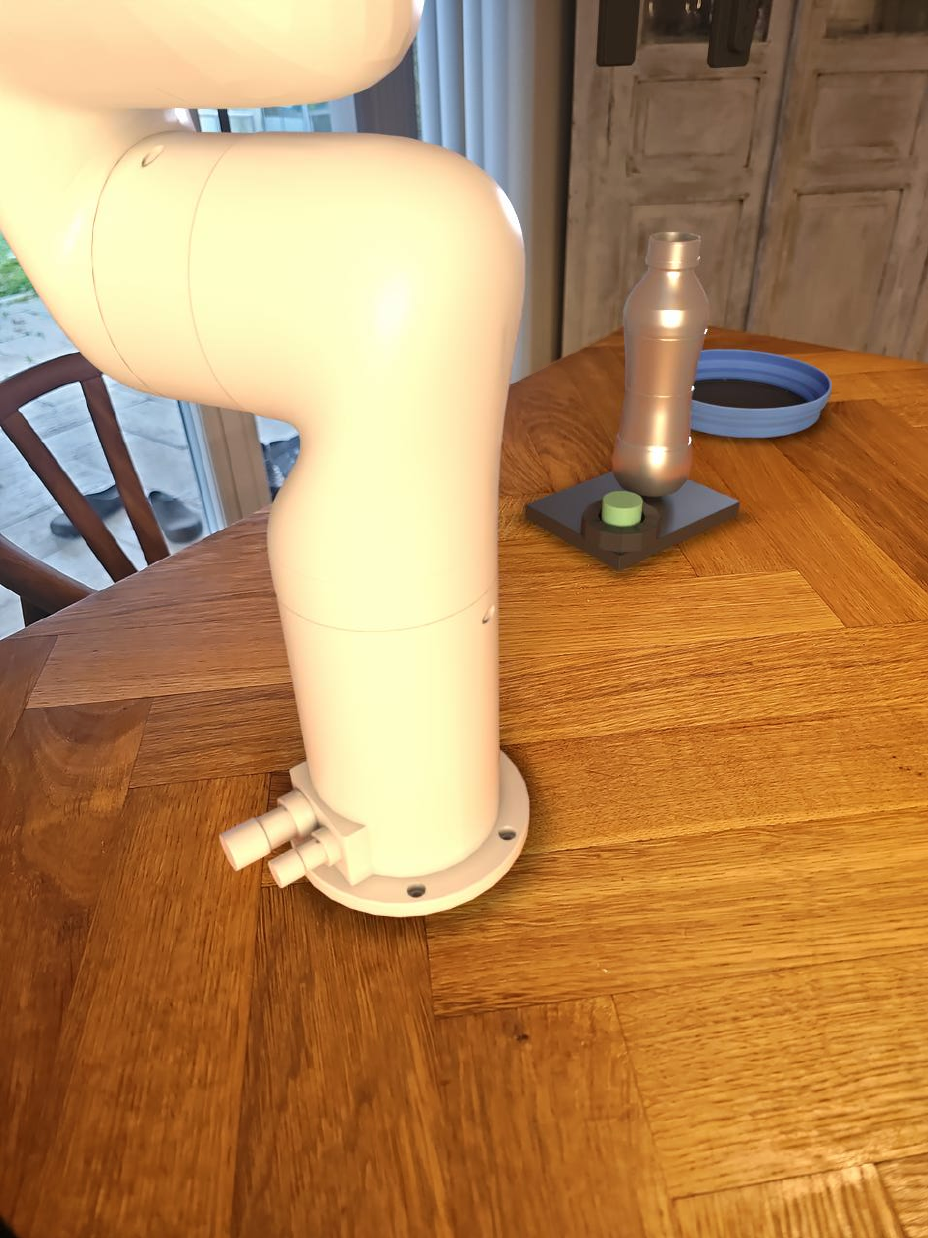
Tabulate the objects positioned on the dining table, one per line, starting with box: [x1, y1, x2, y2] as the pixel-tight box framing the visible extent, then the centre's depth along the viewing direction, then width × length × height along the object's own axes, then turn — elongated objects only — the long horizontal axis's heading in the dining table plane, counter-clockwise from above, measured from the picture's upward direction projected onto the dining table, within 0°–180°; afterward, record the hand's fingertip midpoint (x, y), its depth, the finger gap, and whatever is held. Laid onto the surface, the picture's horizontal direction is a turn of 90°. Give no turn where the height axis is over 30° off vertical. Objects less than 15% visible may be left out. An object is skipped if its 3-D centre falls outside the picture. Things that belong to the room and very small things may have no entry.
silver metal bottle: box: [611, 231, 711, 497], centre depth 67 cm, size 6×7×20 cm
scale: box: [525, 470, 741, 572], centre depth 70 cm, size 14×11×3 cm
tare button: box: [602, 491, 643, 527], centre depth 65 cm, size 3×3×2 cm
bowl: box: [691, 348, 833, 439], centre depth 89 cm, size 18×18×4 cm
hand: (668, 66), depth 55 cm, fingers open, 9 cm apart
